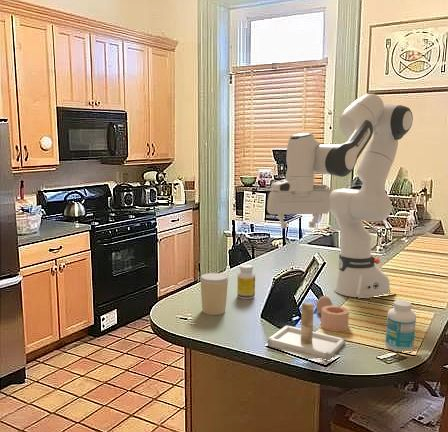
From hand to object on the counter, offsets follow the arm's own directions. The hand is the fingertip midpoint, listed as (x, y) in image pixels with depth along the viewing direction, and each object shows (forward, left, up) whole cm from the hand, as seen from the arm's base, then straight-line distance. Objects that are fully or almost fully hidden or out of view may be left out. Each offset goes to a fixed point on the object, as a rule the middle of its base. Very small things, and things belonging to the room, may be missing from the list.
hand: (297, 227), depth 161 cm
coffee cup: (+26, -7, -29) cm, 40 cm away
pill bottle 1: (+12, -20, -29) cm, 38 cm away
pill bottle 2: (-20, +31, -29) cm, 47 cm away
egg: (-9, +3, -29) cm, 31 cm away
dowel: (+5, +25, -28) cm, 38 cm away
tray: (+5, +25, -29) cm, 39 cm away
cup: (-8, +14, -29) cm, 33 cm away
